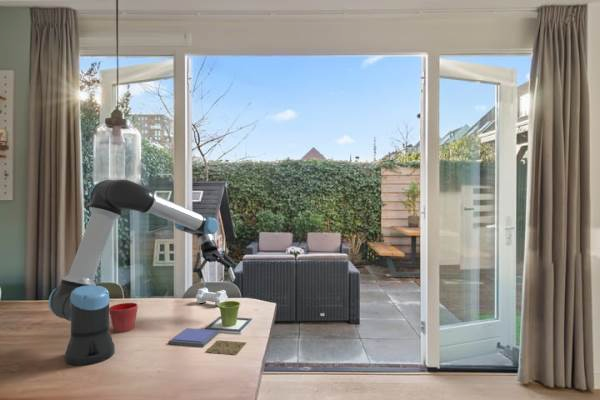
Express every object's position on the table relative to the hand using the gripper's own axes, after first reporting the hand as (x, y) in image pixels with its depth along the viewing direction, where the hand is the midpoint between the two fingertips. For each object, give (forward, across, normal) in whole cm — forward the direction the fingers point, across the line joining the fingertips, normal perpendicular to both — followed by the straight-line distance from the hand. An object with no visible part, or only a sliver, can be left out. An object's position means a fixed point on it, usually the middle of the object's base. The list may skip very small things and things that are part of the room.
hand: (219, 281), depth 169 cm
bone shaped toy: (-6, -6, -30) cm, 31 cm away
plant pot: (+19, 0, -4) cm, 19 cm away
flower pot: (+5, +38, -20) cm, 43 cm away
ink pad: (+24, +17, 0) cm, 29 cm away
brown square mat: (+35, +10, +10) cm, 37 cm away
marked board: (+20, 0, -4) cm, 20 cm away
